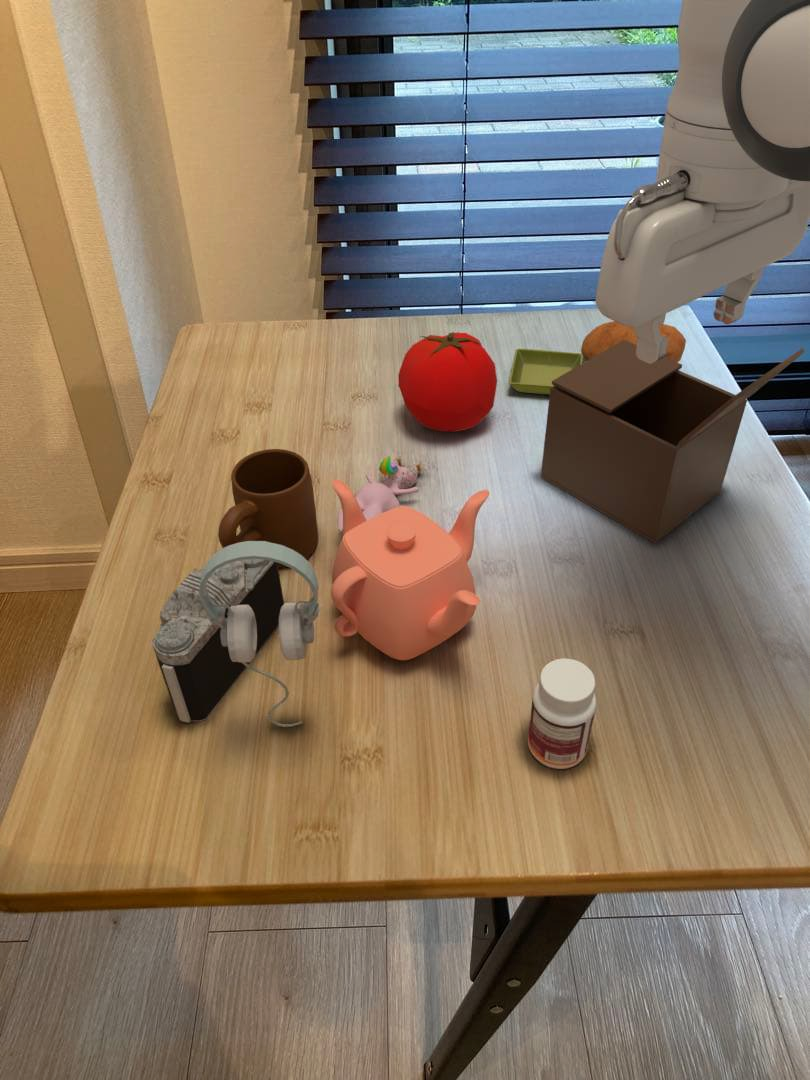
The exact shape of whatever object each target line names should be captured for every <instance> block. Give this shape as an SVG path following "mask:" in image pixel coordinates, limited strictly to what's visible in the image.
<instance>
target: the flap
mask: <svg viewBox="0 0 810 1080" xmlns="http://www.w3.org/2000/svg"><path fill="white" fill-rule="evenodd" d="M805 352H806V351H805V349H804V348H803V347H801V348H800V349H799V350H797V351H796V352H795V353H793V354H792V355H790V356H789V357H787V358H785V360H783V361H782V362H781V363H779V364H777V365H776V366H775V367H773V368H771V369H770V370H769V371H767V372H765V374H763V375H762V376H760V377H759V378H758V379H756V380H755V381H754V382H752V383H751V384H749V385H747V386H746V387H745V388H743V389H741V391H739V392H738V393H737V394H735V396H734V397H732V398H731V399H730V400H728V401H727V402H726V403H725V404H724V405H722V406H721V407H720V408H719V409H718V410H716V411H715V412H714V413H713V414H712V415H710V416H709V417H708V418H707V419H706V420H704V421H703V422H702V423H701V424H700V425H698V426H697V427H696V428H695V429H694V430H693V431H691V432H690V433H689V434H688V435H687V436H685V437H684V438H683V439H682V440H681V441H679V442H678V443H679V444H680V446H682V445H683V444H684V443H686V442H687V441H689V440H690V439H691V438H693V437H694V436H696V435H697V434H698V433H700V432H701V431H702V430H704V429H705V428H707V427H708V426H709V425H711V424H712V423H714V422H715V421H716V420H718V419H719V418H721V417H722V416H723V415H725V414H726V413H728V412H729V411H730V410H732V409H733V408H735V407H736V406H737V405H739V404H740V403H742V402H743V401H744V400H748V399H749V398H750V397H751V396H752V395H754V394H755V393H756V392H758V391H760V389H761V388H762V387H763V386H765V385H766V384H767V383H769V382H770V381H771V380H773V379H774V378H775V377H776V376H778V375H779V374H780V373H781V372H782V371H783V370H784V369H786V368H787V367H788V366H790V365H791V364H792V363H794V361H795V360H797V359H798V358H799V357H800V356H801V355H803V354H804V353H805Z"/></svg>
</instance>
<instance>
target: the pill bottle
mask: <svg viewBox="0 0 810 1080" xmlns="http://www.w3.org/2000/svg"><path fill="white" fill-rule="evenodd" d="M595 689H596V678H595V675H594V672H593V671H592V670H591V669H590V667H588V666H587V665H586V664H584V663H583V662H581V661H579V660H576V659H572V658H557V659H554V660H551V661H549V662H547V664H546V665H544V667H543V668H542V670H541V672H540V675H539V681H538V683H537V684H536V685H535V687H534V688H533V692H532V696H531V697H532V699H531V710H530V717H529V724H528V726H529V727H528V735H527V745H528V748H529V751H530V752H531V754H532V755H533V756H534V758H535V759H536V760H537V761H538V762H539V763H541V764H542V765H544V766H546V767H548V768H551V769H556V770H564V769H570V768H572V767H575V766H576V765H578V764H579V763H581V762H582V761H583V759H585V757H586V754H587V752H588V748H589V744H590V739H591V738H590V737H591V733H592V729H593V724H594V719H595V715H596V710H597V697H596V694H595Z"/></svg>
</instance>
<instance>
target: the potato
mask: <svg viewBox="0 0 810 1080" xmlns="http://www.w3.org/2000/svg"><path fill="white" fill-rule="evenodd" d="M659 330H660V334H661V336H664V337H666V338H668V339H669V341H668V347H667V348H666V351H667V352H666V356H665V358H668V359H670V360H672V361H675V362H677V363H679V362H680V361H681V360H682V357H683V354H684V351H685V349H686V344H687V339H686V338H685V336H684V335H683V333H681V332H680V331H679V330H678V328H676V327H675V326H672V325H670V324H666V323H665V324H664V323H663V324H661V325H659ZM623 340H626V341H628V342H630V343H633V344H635V345H637V340H638V337H637V335H636V333H635V331H634V328H630V327H628V326H625V325H622V324H620V323H618V322H615V321H613V320H612V321H609V322H604V323H602V324H600V325H598V326H596V327H595V328H594V329H592V330H591V331H590V332H589V333H588V334H586V336H585V337H584V339H583V341H582V343H581V348H580V352H581V353H580V354H583V359H585V360H586V361H588V360H590V359H591V358H593V357H595V356H596V355H598V354H600V353H602V352H603V351H605V350H607V349H609V348H610V347H612V346H614V345H616V344H617V343H619V342H621V341H623Z"/></svg>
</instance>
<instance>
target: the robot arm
mask: <svg viewBox="0 0 810 1080" xmlns="http://www.w3.org/2000/svg"><path fill="white" fill-rule="evenodd" d="M679 13H680V14H679V19H678V26H677V33H676V34H677V35H676V38H677V40H676V41H677V49H678V69H677V74H676V77H675V82H674V84H673V87H672V89H671V91H670V93H669V96H668V98H667V101H666V108H665V114H664V123H663V128H662V136H661V142H660V148H659V155H658V162H657V170H656V175H655V176H656V177H655V179H656V182H654V183H648V184H647V183H646V184H644V185H641V186H639V187H638V188H636V189H635V190H634V191H633V192H632V194H631V198H630V199H629V200H628V201H627V202H626V203H625V205H624V206H623V208H621V209H620V210H619V211H618V212H617V215H616V218H615V219H614V221H613V223H612V225H611V227H610V230H609V233H608V236H607V239H606V243H605V247H604V250H603V251H604V252H603V256H602V260H601V264H600V265H601V266H600V269H599V275H598V279H597V286H596V292H595V306H596V307H597V310H598V311H599V313H600V314H601V315H602V316H604V317H605V318H607V319H610V320H611V321H612V322H613V321H615V322H618V323H620V324H622V325H625V326H628V327H630V328H634V331H635V333H636V335H637V337H638V340H637V347H636V356H637V357H638V359H640V360H642V361H644V362H646V363H648V364H652V363H654V362H656V361H658V360H660V359H662V358H663V357H665V356H666V352H667V351H666V348H667V347H668V341H669V339H668V338H666V337H664V336H661V334H660V330H659V325H661V324H664V323H665V322H666V314H668V313H670V312H673V311H675V310H676V309H679V308H681V307H683V306H685V305H687V304H689V303H691V302H693V301H696V300H698V299H700V298H702V297H704V296H706V295H708V294H710V293H712V292H714V291H716V290H718V289H721V288H723V287H725V286H726V287H725V289H724V292H723V293H722V295H721V296H719V297H717V298H716V302H715V305H714V306H715V308H714V310H713V318H714V319H715V320H716V321H717V322H720V323H721V322H722V323H723V324H725V325H730V324H733V323H735V322H736V321H738V320H740V319H742V318H743V316H744V312H745V309H746V304H747V301H748V300H749V298H750V297H751V295H752V293H753V292H754V290H755V289H756V287H757V285H758V284H759V282H760V280H761V278H762V277H763V276H762V275H763V272H764V268H765V267H767V266H769V265H771V264H774V263H776V262H778V261H780V260H783V259H784V258H786V257H789V256H791V255H792V254H793V253H794V252H795V250H796V249H797V248H798V246H799V245H800V243H801V241H802V240H803V238H804V237H805V234H806V232H807V229H808V226H809V223H810V0H682V1H681V6H680V12H679Z"/></svg>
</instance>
